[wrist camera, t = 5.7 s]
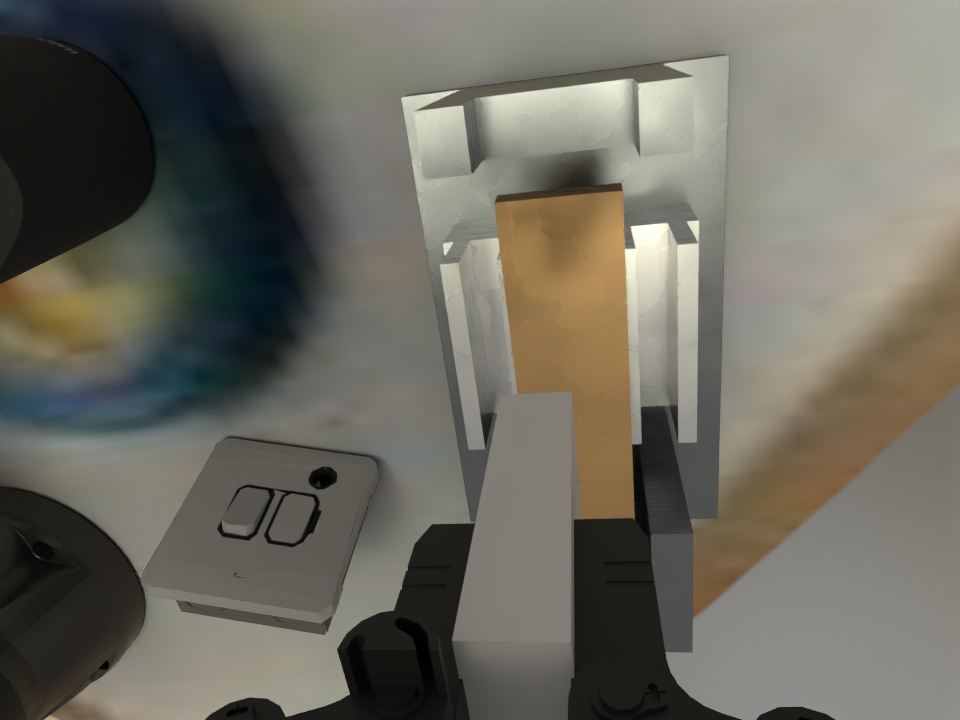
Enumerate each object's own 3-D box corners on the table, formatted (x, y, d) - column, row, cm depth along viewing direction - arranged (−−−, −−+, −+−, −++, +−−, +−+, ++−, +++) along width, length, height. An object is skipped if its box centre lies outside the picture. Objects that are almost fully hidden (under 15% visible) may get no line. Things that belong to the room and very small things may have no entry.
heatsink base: (714, 506, 36) (757, 662, 27) (473, 510, 38) (439, 655, 29) (724, 54, 27) (794, 65, 18) (407, 95, 29) (328, 123, 20)
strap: (634, 542, 29) (636, 566, 27) (539, 542, 29) (537, 566, 28) (620, 181, 22) (623, 191, 21) (498, 193, 22) (493, 204, 21)
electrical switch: (383, 455, 37) (327, 589, 30) (385, 522, 40) (333, 662, 32) (222, 432, 38) (126, 556, 30) (234, 499, 41) (149, 630, 33)
